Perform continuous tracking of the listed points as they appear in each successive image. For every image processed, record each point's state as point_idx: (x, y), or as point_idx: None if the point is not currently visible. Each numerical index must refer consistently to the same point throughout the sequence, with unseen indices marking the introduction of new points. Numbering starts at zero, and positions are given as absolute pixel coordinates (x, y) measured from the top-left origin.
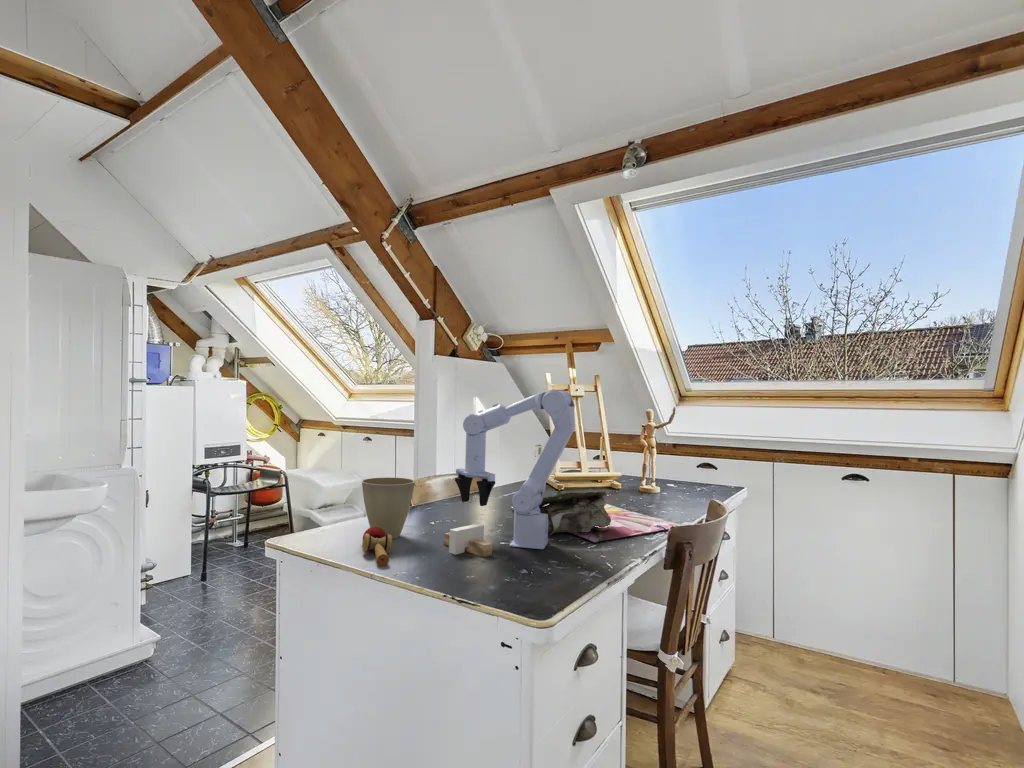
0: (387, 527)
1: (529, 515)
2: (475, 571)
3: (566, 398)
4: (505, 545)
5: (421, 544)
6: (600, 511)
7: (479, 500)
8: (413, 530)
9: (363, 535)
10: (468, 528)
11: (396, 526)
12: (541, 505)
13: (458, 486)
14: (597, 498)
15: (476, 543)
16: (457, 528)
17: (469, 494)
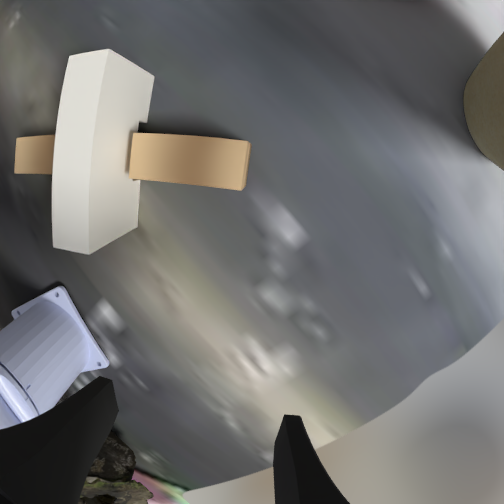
0: (486, 53)
1: None
2: (15, 44)
3: None
4: (83, 293)
5: (332, 87)
6: None
7: (93, 397)
8: (483, 246)
9: None
10: (55, 138)
11: (479, 80)
12: (105, 493)
13: (341, 502)
14: None
15: (47, 135)
16: (90, 92)
17: (274, 481)
